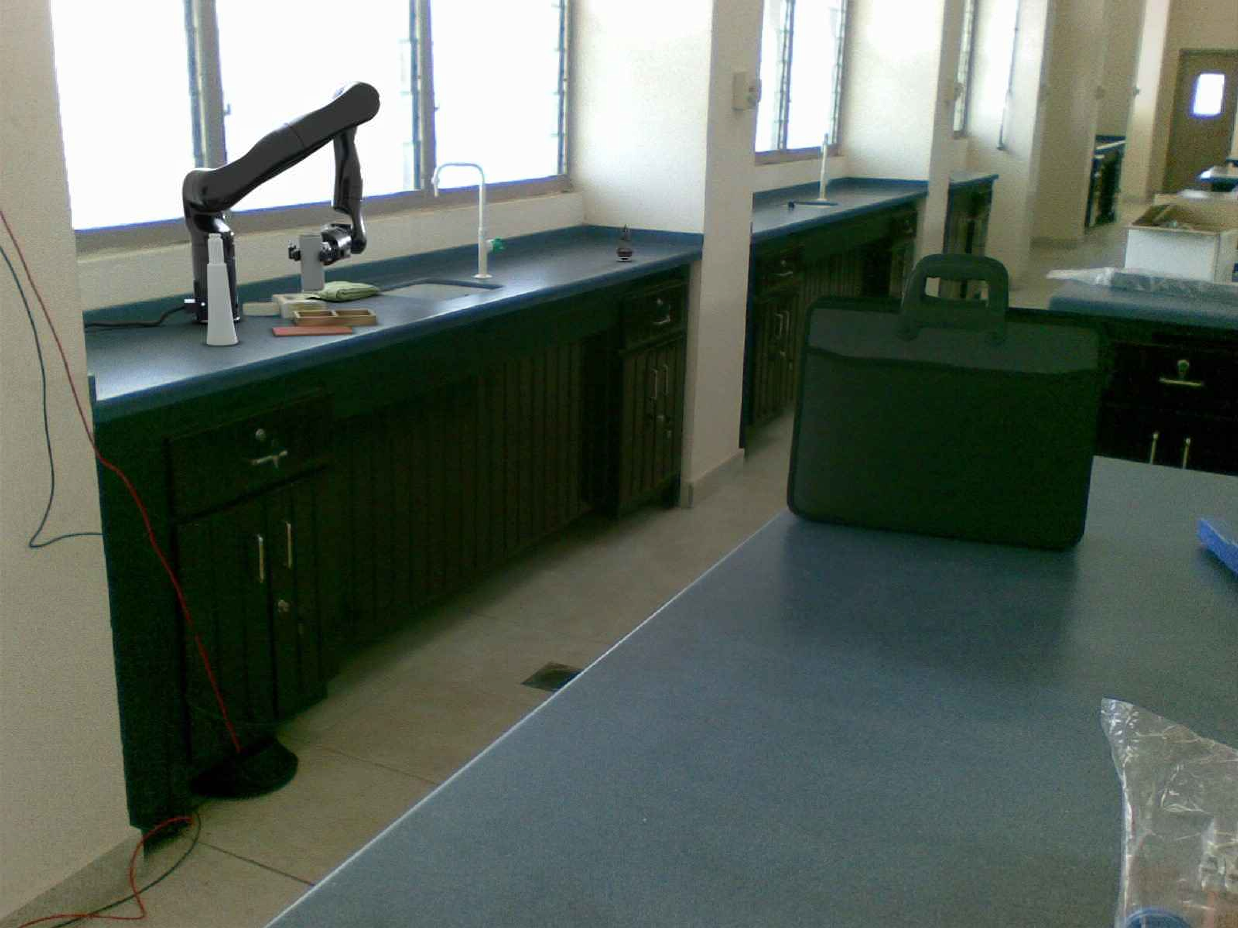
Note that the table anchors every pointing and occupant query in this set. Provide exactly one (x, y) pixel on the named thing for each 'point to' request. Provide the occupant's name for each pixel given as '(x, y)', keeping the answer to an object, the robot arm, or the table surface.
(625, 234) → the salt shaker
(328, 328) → the mat
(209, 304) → the cosmetic bottle
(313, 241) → the grey rectangular block
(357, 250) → the robot arm
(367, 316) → the wooden compartment tray
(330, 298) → the washcloth
